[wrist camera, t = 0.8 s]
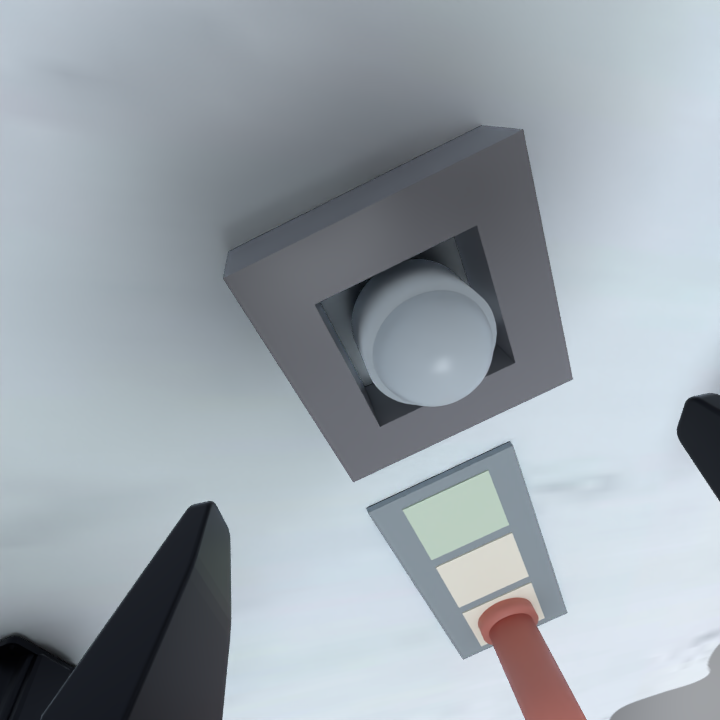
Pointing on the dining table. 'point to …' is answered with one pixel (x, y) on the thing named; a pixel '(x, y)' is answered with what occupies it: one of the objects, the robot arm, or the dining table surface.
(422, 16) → the dining table surface
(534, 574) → the track board
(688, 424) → the robot arm
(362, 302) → the dome
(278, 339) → the button box
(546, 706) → the pawn
